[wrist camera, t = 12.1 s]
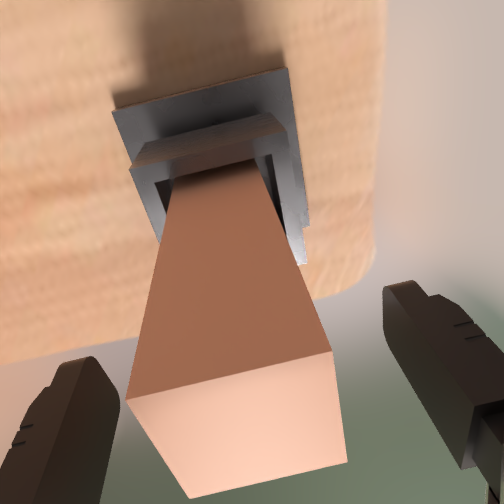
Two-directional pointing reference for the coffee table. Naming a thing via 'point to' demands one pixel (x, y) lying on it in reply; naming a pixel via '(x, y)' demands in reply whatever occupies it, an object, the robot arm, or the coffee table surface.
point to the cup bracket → (219, 144)
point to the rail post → (232, 343)
